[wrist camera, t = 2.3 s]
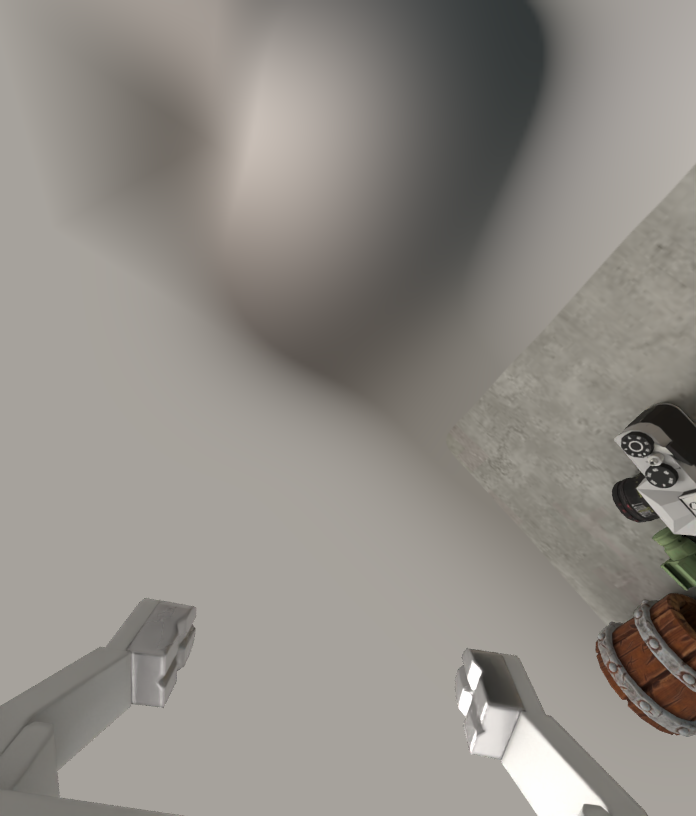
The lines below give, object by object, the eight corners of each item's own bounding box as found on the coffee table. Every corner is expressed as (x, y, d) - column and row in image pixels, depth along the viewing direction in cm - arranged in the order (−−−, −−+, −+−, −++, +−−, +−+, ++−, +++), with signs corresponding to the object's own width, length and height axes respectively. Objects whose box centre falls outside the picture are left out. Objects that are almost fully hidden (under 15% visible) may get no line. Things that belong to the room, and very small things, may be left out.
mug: (578, 608, 51) (674, 552, 43) (672, 682, 48) (791, 636, 41) (590, 687, 41) (716, 633, 34) (709, 785, 38) (875, 751, 31)
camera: (592, 434, 48) (556, 464, 43) (680, 393, 39) (647, 425, 34) (675, 533, 44) (646, 579, 39) (793, 512, 35) (776, 569, 30)
